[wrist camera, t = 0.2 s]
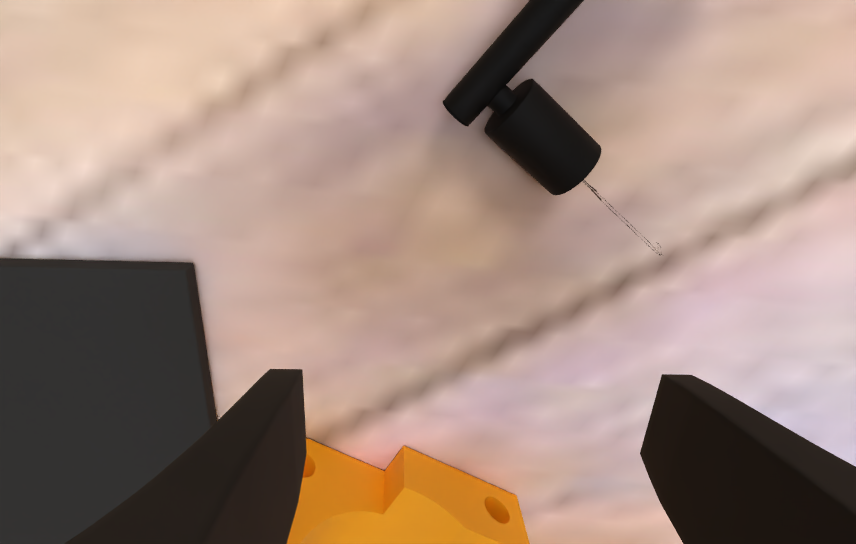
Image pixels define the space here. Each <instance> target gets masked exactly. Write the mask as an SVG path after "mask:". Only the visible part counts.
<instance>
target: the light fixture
mask: <svg viewBox="0 0 856 544" xmlns="http://www.w3.org/2000/svg"><path fill="white" fill-rule="evenodd" d="M583 1H584V0H530V1H529V2H528V3H527V4H526V6H525V7H524V8H523V9H522V10H521V11H520V13H519V14H518V15H517V16H516V17H515V18H514V20H513V21H512V22H511V23H510V24H509V25H508V26H507V28H506V29H505V30H504V31H503V32H502V33H501V35H500V36H499V37H498V38H497V39H496V40H495V42H494V43H493V44H492V45H491V46H490V47H489V48H488V50H487V51H486V52H485V53H484V54H483V55H482V57H481V58H480V59H479V60H478V61H477V62H476V64H475V65H474V66H473V67H472V68H471V69H470V70H469V72H468V73H467V74H466V75H465V76H464V77H463V79H462V80H461V81H460V82H459V83H458V84H457V86H456V87H455V88H454V89H453V90H452V91H451V93H450V94H449V95H448V96H447V97H446V99H445V100H444V101H443V104H444V106H445V108H446V109H447V110H448V111H449V113H450V114H451V115H452V116H453V117H454V118H455V119H457V120H458V121H459V122H460V123H462V124H463V125H465V126H469V124H471V122H472V121H473V120H474V119H475V118H476V117H477V116H478V115H479V114H480V113H481V112H482V111H483V109H484V108H485V107H486V106H489V107H490V108H491V109H492V110H493V111H494V112H493V114H492V115H491V117H490V119H489V120H488V122H487V124H486V127H485V133H486V134H487V135H488V136H489V137H490V138H491V139H492V140H493V141H494V142H495V143H496V144H497V145H498V146H500V147H501V148H502V149H503V150H504V151H505V152H506V153H507V154H508V155H509V156H510V157H512V158H513V159H514V160H515V161H516V162H517V163H518V164H519V165H520V166H521V167H522V168H524V169H525V170H526V171H527V172H528V173H529V174H530V175H531V176H532V177H533V178H535V179H536V180H537V181H538V182H539V183H540V184H541V185H542V186H543V187H544V188H546V189H547V190H548V191H549V192H550V193H551V194H553V195H561V194H563V193H566V192H568V191H569V190H571V189H572V188H574V187H575V186H577V185H578V184H579V183H580V182H581V181H583V180H584V179H585V178H586V177H587V175H588V174H589V173H590V172H591V171H592V169H593V168H594V167H595V165H596V163H597V162H598V160H599V158H600V154H601V147H600V145H599V144H598V143H597V142H596V141H595V140H594V139H593V138H592V137H591V136H590V135H589V134H588V133H587V132H586V131H585V130H584V129H583V128H582V127H581V126H580V125H579V124H578V123H577V122H576V121H575V120H574V119H573V118H572V117H571V116H570V115H569V114H568V113H567V112H566V111H565V110H564V109H563V108H562V107H561V106H560V105H559V104H558V103H557V102H556V101H555V100H554V99H553V98H552V97H551V96H550V95H549V94H548V93H547V92H546V91H545V90H544V89H543V88H542V87H541V86H540V85H539V84H537V83H536V82H535V81H534V80H533V79H528V80H526V81H524V82H523V83H521V84H520V85H519V86H517V87H516V88H515V89H514V90H513V91H512V90H511V89H509V88H508V87H507V86H506V84H507V83H508V82H509V81H510V80H511V79H512V78H513V77H514V76H515V75H516V73H517V72H518V71H519V70H520V69H521V68H522V67H523V66H524V65H525V64H526V63H527V62H528V60H529V59H530V58H531V57H532V56H533V55H534V54H535V53H536V52H537V51H538V50H539V49H540V47H541V46H542V45H543V44H544V43H545V42H546V41H547V40H548V39H549V38H550V37H551V35H552V34H553V33H554V32H555V31H556V30H557V29H558V28H559V27H560V26H561V25H562V24H563V22H564V21H565V20H566V19H567V18H568V17H569V16H570V15H571V14H572V13H573V12H574V11H575V9H576V8H577V7H578V6H579V5H580V4H581V3H582V2H583ZM585 182H586V181H585ZM585 182H584V183H585ZM586 183H587V182H586ZM586 183H585V184H586ZM587 184H588V183H587ZM587 184H586V185H587ZM588 185H589V184H588ZM588 185H587V186H588ZM589 186H590V185H589ZM589 186H588V187H589ZM590 187H591V186H590ZM590 187H589V188H590ZM591 188H592V189H594V188H593V187H591ZM591 188H590V189H591ZM592 189H591V190H592ZM592 191H593V190H592ZM594 191H597V190H595V189H594ZM594 191H593V192H594ZM594 194H595V195H596V196H597V197H598V198H599V199H600V200H602V199H601V198H600V197H599V196H598V195H597V194H596V193H595V192H594ZM605 201H606V200H605ZM606 202H607V201H606ZM607 203H608V202H607ZM608 204H609V203H608ZM609 205H610V204H609ZM610 206H611V205H610ZM607 207H608V206H607ZM611 207H612V206H611ZM608 208H609V207H608ZM612 208H613V207H612ZM609 209H610V208H609ZM610 210H611V209H610ZM611 211H612V210H611ZM612 212H613V211H612ZM613 213H614V212H613ZM614 214H615V213H614ZM615 215H616V214H615ZM625 220H626V219H625ZM626 221H627V220H626ZM627 222H628V221H627ZM628 223H629V222H628ZM629 224H630V223H629ZM630 225H631V224H630ZM627 226H628V225H627ZM631 226H632V225H631ZM628 227H629V226H628ZM632 227H633V226H632ZM629 228H630V227H629ZM630 229H631V228H630ZM631 230H632V229H631ZM632 231H633V230H632ZM633 232H634V231H633ZM634 233H635V232H634ZM635 234H636V233H635ZM646 240H647V239H646ZM647 241H648V240H647ZM648 242H649V241H648ZM649 243H650V242H649ZM650 244H651V243H650ZM658 244H659V243H658ZM651 245H652V244H651ZM659 245H660V244H659ZM648 246H649V245H648ZM649 247H650V246H649ZM660 247H661V246H660ZM650 248H651V247H650ZM651 249H652V248H651ZM652 250H653V249H652ZM655 250H656V249H655ZM653 251H654V250H653ZM656 251H657V250H656ZM657 252H658V251H657ZM661 255H662V254H661ZM662 256H663V255H662Z"/></svg>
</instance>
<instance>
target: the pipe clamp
mask: <svg viewBox="0 0 856 544" xmlns="http://www.w3.org/2000/svg"><path fill="white" fill-rule="evenodd" d="M306 450H307V454H306V460H305V466H304V472H303V478H302V484H301V490H300V495H299V501H298V505H297V509H296V512H295V516H294V520H293V523H292V527H291V530H290V534H289V537H288V541H287V544H530V543H529V540H528V536H527V532H526V529H525V525H524V521H523V517H522V514H521V510H520V506H519V503H518V499H517V496H516V495H514V494H511V493H509V492H507V491H505V490H502V489H500V488H498V487H496V486H493V485H491V484H489V483H487V482H484V481H482V480H480V479H478V478H475V477H473V476H471V475H469V474H466V473H464V472H462V471H460V470H457V469H455V468H453V467H451V466H448V465H446V464H444V463H442V462H439V461H437V460H435V459H433V458H430V457H428V456H426V455H424V454H421V453H419V452H417V451H415V450H412V449H410V448H408V447H406V446H403V447H402V449H401V450H400V451H399V453H398V454H397V455H396V457H395V458H394V459H393V461H392V462H391V463H390V465H389V466H388V467H387V469H386V470H385V471H383V470H381V469H378V468H376V467H374V466H371V465H369V464H366V463H364V462H362V461H359V460H357V459H355V458H352V457H350V456H348V455H345V454H343V453H341V452H338V451H336V450H333V449H331V448H329V447H326V446H324V445H322V444H319V443H317V442H315V441H312V440H310V439H308V438H306Z"/></svg>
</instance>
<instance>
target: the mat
mask: <svg viewBox="0 0 856 544" xmlns="http://www.w3.org/2000/svg"><path fill="white" fill-rule="evenodd" d="M216 422H217V419H216V412H215V405H214V399H213V392H212V385H211V378H210V372H209V365H208V358H207V351H206V345H205V338H204V331H203V324H202V318H201V311H200V304H199V297H198V291H197V284H196V277H195V270H194V264H193V263H174V262H128V261H83V260H38V259H0V544H64V543H66V542H67V541H69V540H70V539H72V538H73V537H75V536H76V535H78V534H79V533H81V532H82V531H84V530H85V529H87V528H88V527H89V526H91V525H92V524H94V523H95V522H96V521H98V520H99V519H101V518H102V517H103V516H105V515H106V514H107V513H109V512H110V511H111V510H113V509H114V508H116V507H117V506H118V505H120V504H121V503H122V502H124V501H125V500H126V499H128V498H129V497H130V496H132V495H133V494H134V493H136V492H137V491H138V490H139V489H141V488H142V487H143V486H144V485H146V484H147V483H148V482H149V481H150V480H152V479H153V478H154V477H155V476H156V475H158V474H159V473H160V472H161V471H162V470H163V469H165V468H166V467H167V466H168V465H169V464H170V463H172V462H173V461H174V460H175V459H176V458H177V457H179V456H180V455H181V454H182V453H183V452H184V451H185V450H187V449H188V448H189V447H190V446H191V445H192V444H193V443H195V442H196V441H197V440H198V439H199V438H200V437H201V436H202V435H203V434H204V433H205V432H206V431H207V430H208V429H209V428H210V427H212V426H213V425H214V424H215V423H216Z"/></svg>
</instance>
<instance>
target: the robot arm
mask: <svg viewBox="0 0 856 544" xmlns="http://www.w3.org/2000/svg"><path fill="white" fill-rule="evenodd" d="M306 454H307V450H306V431H305V412H304V393H303V374H302V369H270V370H269V371H268V372H266V373H265V374H264V375H263V376H262V377H261V378H260V379H259V380H258V381H257V382H256V383H255V384H254V385H253V386H252V387H251V388H250V389H249V390H248V391H247V392H246V393H245V394H244V395H243V396H242V397H241V398H240V399H239V400H238V401H237V402H236V403H235V404H234V405H233V406H232V407H231V408H230V409H229V410H228V411H227V412H226V413H225V414H224V415H223V416H222V417H221V418H220V419H219V420H218V421H217V422H216V423H215V424H214V425H213V426H212V427H210V428H209V429H208V430H207V431H206V432H205V433H204V434H203V435H202V436H201V437H200V438H199V439H198V440H197V441H196V442H195V443H193V444H192V445H191V446H190V447H189V448H188V449H187V450H185V451H184V452H183V453H182V454H181V455H180V456H179V457H177V458H176V459H175V460H174V461H173V462H172V463H170V464H169V465H168V466H167V467H166V468H165V469H163V470H162V471H161V472H160V473H159V474H158V475H156V476H155V477H154V478H153V479H152V480H150V481H149V482H148V483H147V484H146V485H144V486H143V487H142V488H141V489H139V490H138V491H137V492H136V493H134V494H133V495H132V496H130V497H129V498H128V499H126V500H125V501H124V502H122V503H121V504H120V505H118V506H117V507H116V508H114V509H113V510H111V511H110V512H109V513H107V514H106V515H105V516H103V517H102V518H101V519H99V520H98V521H96V522H95V523H94V524H92V525H91V526H89V527H88V528H87V529H85V530H84V531H82V532H81V533H79V534H78V535H76V536H75V537H73V538H72V539H70V540H69V541H67V542H66V543H64V544H287V541H288V537H289V534H290V530H291V527H292V523H293V520H294V516H295V512H296V509H297V505H298V501H299V495H300V490H301V484H302V478H303V472H304V466H305V460H306ZM640 455H641V457H642V460H643V462H644V465H645V467H646V470H647V472H648V475H649V478H650V480H651V482H652V485H653V487H654V489H655V492H656V494H657V496H658V498H659V501H660V503H661V504H662V506H663V508H664V510H665V512H666V514H667V515H668V517H669V519H670V521H671V522H672V524H673V526H674V528H675V529H676V531H677V533H678V535H679V537H680V538H681V540H682V542H683V544H856V467H855V466H853V465H851V464H850V463H848V462H846V461H844V460H842V459H840V458H838V457H837V456H835V455H833V454H831V453H829V452H828V451H826V450H824V449H822V448H820V447H819V446H817V445H815V444H813V443H812V442H810V441H808V440H806V439H805V438H803V437H801V436H799V435H798V434H796V433H794V432H792V431H791V430H789V429H787V428H785V427H784V426H782V425H780V424H779V423H777V422H775V421H773V420H772V419H770V418H768V417H767V416H765V415H763V414H761V413H760V412H758V411H756V410H755V409H753V408H751V407H749V406H748V405H746V404H744V403H743V402H741V401H739V400H737V399H736V398H734V397H732V396H730V395H729V394H727V393H725V392H723V391H722V390H720V389H718V388H716V387H714V386H713V385H711V384H709V383H707V382H705V381H703V380H701V379H699V378H697V377H695V376H692V375H664V374H662V377H661V380H660V384H659V387H658V391H657V395H656V398H655V402H654V405H653V409H652V412H651V416H650V420H649V423H648V427H647V430H646V434H645V437H644V441H643V445H642V448H641V452H640Z"/></svg>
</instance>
